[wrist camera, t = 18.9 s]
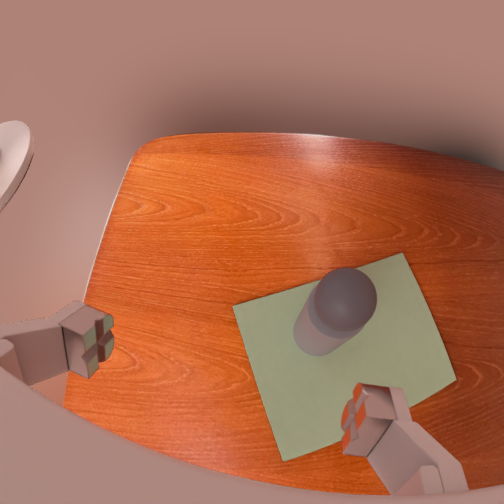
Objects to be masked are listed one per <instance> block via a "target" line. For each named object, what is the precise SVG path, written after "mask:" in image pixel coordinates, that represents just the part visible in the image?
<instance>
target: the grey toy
mask: <svg viewBox="0 0 504 504" xmlns="http://www.w3.org/2000/svg"><path fill="white" fill-rule="evenodd" d="M376 305H377V293H376V289H375V286H374V284H373V282H372V281H371V279H370V278H369V277H368V276H367V275H366V274H364V273H363V272H361V271H360V270H357V269H354V268H339V269H335V270H333V271H331V272H329V273H328V274H327V275H325V276H324V277H323V278H322V279H321V281H320V282H319V284H317V285H316V286H315V287H314V288H313V290H312V291H311V293H310V295H309V297H308V299H307V301H306V303H305V305H304V307H303V308H302V310H301V312H300V314H299V316H298V318H297V320H296V322H295V324H294V329H293V335H294V339H295V342H296V344H297V346H298V347H299V348H300V349H301V350H302V351H303V352H305V353H307V354H309V355H312V356H324V355H327V354H329V353H331V352H332V351H334V350H335V349H337V348H338V347H340V346H341V345H342V344H344V343H345V342H347V341H348V340H349V339H351V338H352V337H354V336H355V335H356V334H358V333H359V332H360V331H361V330H362V329H363V328H364V326H365V324H366V323H367V322H368V321H369V320H370V319H371V317H372V316H373V314H374V312H375V309H376Z"/></svg>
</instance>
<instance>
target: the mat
mask: <svg viewBox="0 0 504 504" xmlns="http://www.w3.org/2000/svg"><path fill="white" fill-rule="evenodd" d="M355 269H357V270H360V271H361V272H363V273H364V274H366V275H367V276H368V277H369V278H370V279H371V281H372V282H373V284H374V286H375V289H376V293H377V305H376V309H375V312H374V314H373V316H372V317H371V319H370V320H369V321H368V322H367V323H366V324H365V326H364V328H363V329H362V330H361V331H360V332H359V333H358V334H356V335H355V336H354V337H352V338H351V339H349V340H348V341H347V342H345V343H344V344H342V345H341V346H340V347H338V348H337V349H335V350H334V351H332V352H331V353H329V354H327V355H324V356H312V355H309V354H307V353H305V352H303V351H302V350H301V349H300V348H299V347H298V346H297V344H296V342H295V339H294V335H293V329H294V324H295V322H296V320H297V318H298V316H299V314H300V312H301V310H302V308H303V307H304V305H305V303H306V301H307V299H308V297H309V295H310V293H311V291H312V290H313V288H314V287H315V286H316V285H317V284H319V282H320V281H321V280H318V281H315V282H312V283H308V284H305V285H302V286H299V287H295V288H292V289H289V290H285V291H282V292H279V293H275V294H272V295H269V296H265V297H262V298H258V299H255V300H252V301H248V302H245V303H241V304H238V305H234V306H233V310H234V313H235V316H236V320H237V323H238V326H239V329H240V333H241V336H242V339H243V342H244V345H245V349H246V352H247V355H248V358H249V361H250V364H251V368H252V371H253V374H254V377H255V380H256V383H257V386H258V389H259V392H260V395H261V398H262V401H263V404H264V407H265V410H266V413H267V416H268V419H269V422H270V425H271V428H272V431H273V434H274V437H275V440H276V443H277V446H278V449H279V451H280V454H281V457H282V460H283V461H287V460H290V459H293V458H296V457H299V456H302V455H305V454H307V453H310V452H313V451H316V450H318V449H321V448H324V447H326V446H329V445H331V444H334V443H336V442H339V441H341V440H342V439H341V438H342V437H343V435H344V433H345V432H344V431H343V430H342V429H341V417H342V413H343V410H344V407H345V405H346V403H347V401H349V400H351V399H352V398H353V390H354V388H355V386H356V385H357V384H358V382H359V383H365V384H372V385H378V386H385V387H387V386H389V387H398V388H402V389H403V391H404V395H405V398H406V401H407V405H408V408H410V407H412V406H414V405H415V404H417V403H419V402H421V401H422V400H424V399H426V398H428V397H429V396H431V395H433V394H434V393H436V392H438V391H439V390H441V389H443V388H444V387H446V386H447V385H449V384H451V383H452V382H454V381H455V380H456V377H455V374H454V371H453V368H452V365H451V362H450V360H449V357H448V354H447V352H446V349H445V346H444V344H443V341H442V339H441V336H440V334H439V331H438V329H437V326H436V324H435V322H434V319H433V317H432V314H431V312H430V310H429V307H428V305H427V303H426V301H425V298H424V296H423V294H422V292H421V290H420V287H419V285H418V283H417V281H416V279H415V277H414V275H413V273H412V271H411V269H410V266H409V264H408V262H407V260H406V258H405V256H404V254H403V253H400V254H397V255H394V256H391V257H388V258H385V259H382V260H379V261H376V262H373V263H370V264H367V265H364V266H361V267H358V268H355Z"/></svg>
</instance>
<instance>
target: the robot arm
mask: <svg viewBox="0 0 504 504" xmlns="http://www.w3.org/2000/svg"><path fill="white" fill-rule="evenodd" d="M0 157H1V149H0ZM113 326H114V322H113V316H112V315H111V314H109V313H106V312H104V311H102V310H99V309H97V308H94V307H92V306H90V305H87V304H85V303H82V302H80V301H72V302H71V303H70V304H68V305H67V306H65V307H64V308H62V309H61V310H60V311H58V312H57V313H55V314H54V315H52V316H51V317H50V318H48V319H46V318H39V319H32V320H27V321H20V322H13V323H7V324H0V504H504V484H502V485H497V486H492V487H487V488H481V489H474V490H469V489H468V485H467V482H466V478H465V475H464V472H463V469H462V465H461V463H460V462H459V461H458V460H457V459H455V458H454V457H453V456H452V455H451V454H450V453H449V452H448V451H447V450H446V449H445V448H444V447H443V446H441V445H440V444H439V443H438V442H437V441H436V440H435V439H434V438H433V437H432V436H431V435H430V434H429V433H427V432H426V431H425V430H424V429H423V428H422V427H421V426H420V425H419V424H418V423H417V422H412V418H411V415H410V411H409V408H408V405H407V401H406V398H405V395H404V391H403V389H402V388H398V387H389V386H387V387H385V386H378V385H372V384H365V383H359V382H358V384H357V385H356V386H355V388H354V390H353V398H352V399H351V400H349V401H347V403H346V405H345V407H344V410H343V413H342V417H341V429H342V430H343V431H344V432H345V433H344V435H343V437H342V438H341V439H342V454H346V455H353V456H361V457H367V460H368V461H369V463H370V464H371V466H372V467H373V469H374V470H375V472H376V473H377V475H378V476H379V478H380V479H381V481H382V482H383V484H384V485H385V487H386V488H387V490H388V491H389V493H390V494H391V495H358V494H343V493H332V492H323V491H314V490H306V489H299V488H293V487H287V486H281V485H276V484H270V483H265V482H260V481H256V480H251V479H247V478H242V477H238V476H234V475H230V474H227V473H223V472H219V471H216V470H212V469H209V468H205V467H202V466H199V465H195V464H192V463H189V462H186V461H183V460H180V459H177V458H174V457H172V456H169V455H166V454H163V453H161V452H158V451H155V450H153V449H150V448H148V447H145V446H143V445H140V444H138V443H135V442H133V441H131V440H128V439H126V438H124V437H122V436H119V435H117V434H115V433H113V432H111V431H109V430H106V429H104V428H102V427H100V426H98V425H96V424H94V423H92V422H90V421H88V420H86V419H84V418H83V417H81V416H79V415H77V414H75V413H73V412H71V411H70V410H68V409H66V408H64V407H62V406H61V405H59V404H57V403H55V402H54V401H52V400H50V399H49V398H47V397H46V396H44V395H42V394H41V393H39V392H37V391H36V390H34V389H33V388H31V387H30V385H33V384H35V383H38V382H41V381H43V380H46V379H49V378H51V377H54V376H57V375H59V374H62V373H65V372H68V371H69V370H70V371H72V372H74V373H76V374H78V375H80V376H83V377H85V378H87V379H89V378H90V377H91V376H92V375H93V374H94V373H95V372H96V371H97V370H98V369H99V364H98V363H100V362H104V361H106V360H107V359H108V358H109V357H110V355H111V353H112V350H113V347H114V335H113V334H112V332H111V330H110V329H111V328H112V327H113Z"/></svg>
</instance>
